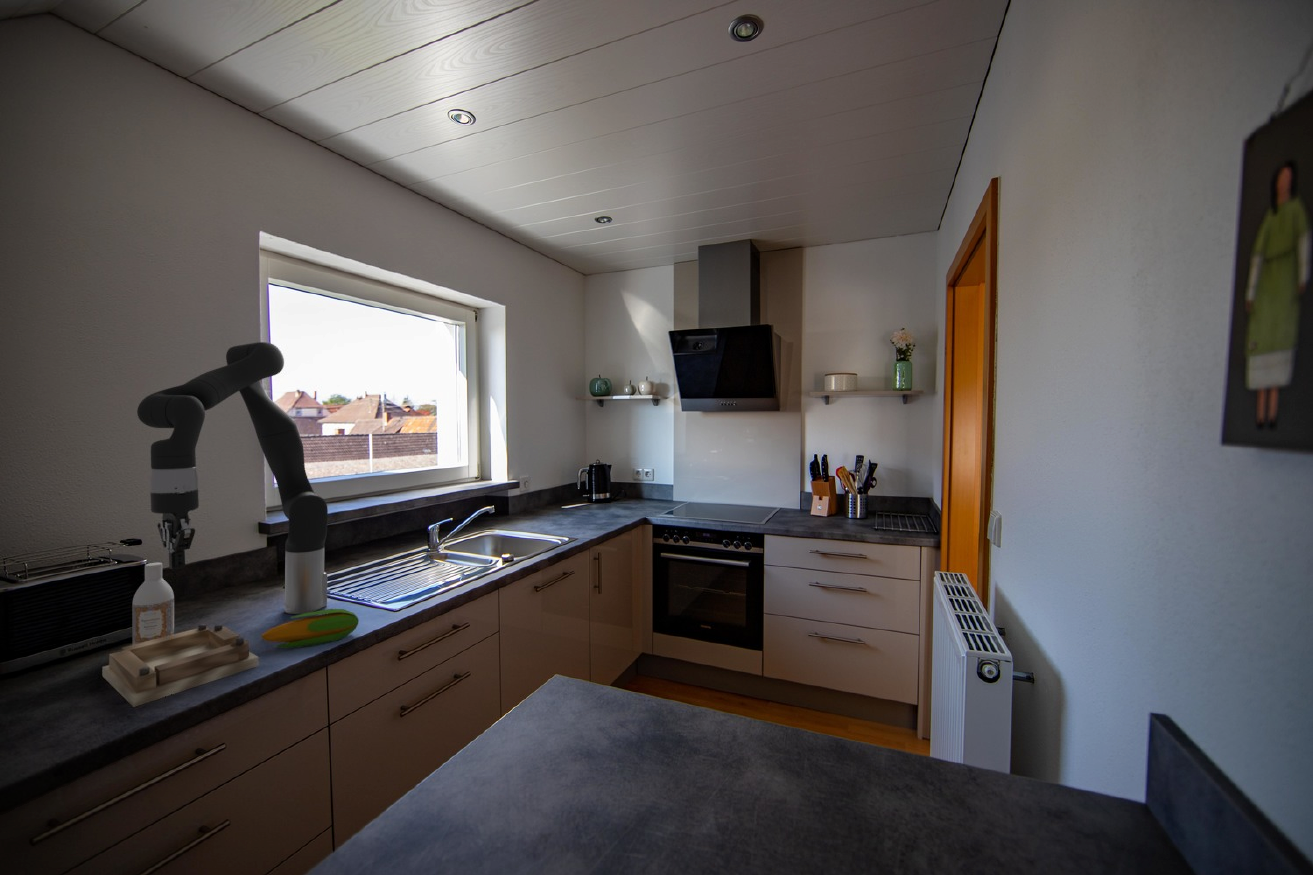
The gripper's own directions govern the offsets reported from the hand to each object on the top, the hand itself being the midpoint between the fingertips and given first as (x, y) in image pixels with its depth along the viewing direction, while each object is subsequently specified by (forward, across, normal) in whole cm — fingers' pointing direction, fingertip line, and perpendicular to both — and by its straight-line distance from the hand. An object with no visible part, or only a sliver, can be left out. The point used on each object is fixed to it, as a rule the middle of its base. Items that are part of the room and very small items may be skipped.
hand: (177, 568), depth 112 cm
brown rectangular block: (+20, +10, +1) cm, 22 cm away
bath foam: (+22, -16, 0) cm, 27 cm away
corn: (+23, +9, +22) cm, 33 cm away
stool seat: (+22, +2, 0) cm, 22 cm away
